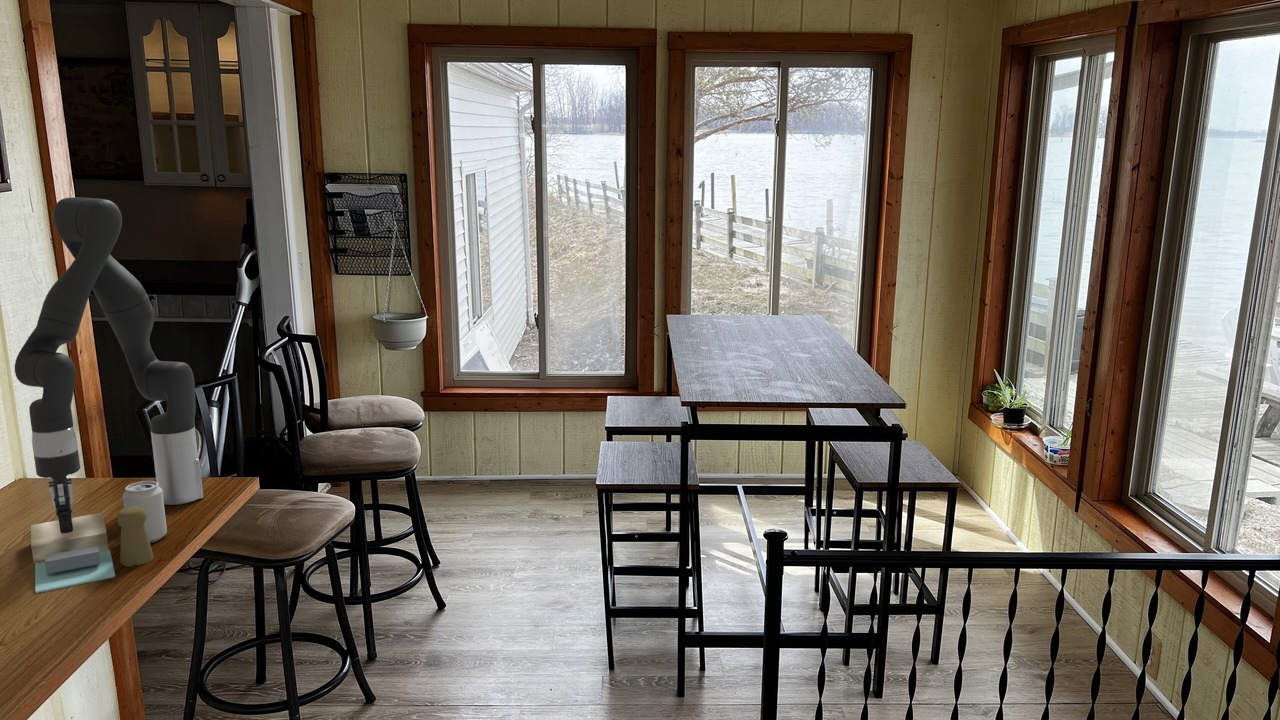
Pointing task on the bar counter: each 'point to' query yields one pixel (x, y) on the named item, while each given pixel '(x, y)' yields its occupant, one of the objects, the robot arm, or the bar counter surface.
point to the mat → (74, 574)
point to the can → (148, 506)
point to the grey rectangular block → (72, 559)
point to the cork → (134, 537)
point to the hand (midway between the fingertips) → (66, 531)
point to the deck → (68, 536)
